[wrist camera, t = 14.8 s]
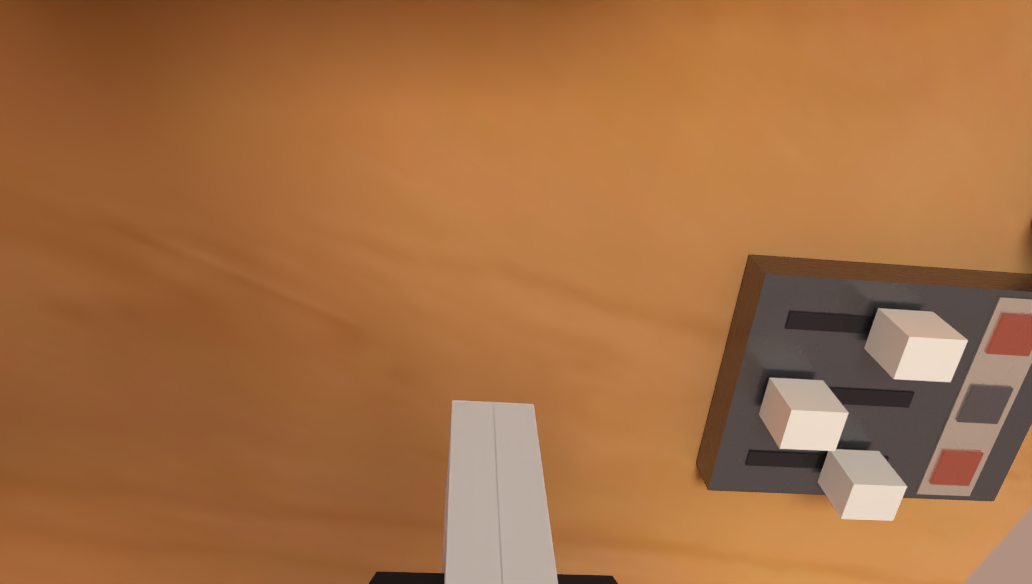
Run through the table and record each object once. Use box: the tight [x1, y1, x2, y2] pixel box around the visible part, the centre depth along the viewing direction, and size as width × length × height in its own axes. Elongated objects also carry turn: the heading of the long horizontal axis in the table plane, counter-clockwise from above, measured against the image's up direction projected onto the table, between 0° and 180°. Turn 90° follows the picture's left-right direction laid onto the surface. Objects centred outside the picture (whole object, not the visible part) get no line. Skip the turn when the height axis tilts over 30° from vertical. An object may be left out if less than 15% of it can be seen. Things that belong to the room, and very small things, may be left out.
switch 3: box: [864, 308, 968, 382], centre depth 37 cm, size 2×3×3 cm
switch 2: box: [818, 449, 907, 521], centre depth 41 cm, size 2×3×3 cm
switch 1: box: [759, 378, 849, 451], centre depth 39 cm, size 2×3×3 cm
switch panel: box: [696, 255, 1032, 501], centre depth 42 cm, size 14×18×3 cm
